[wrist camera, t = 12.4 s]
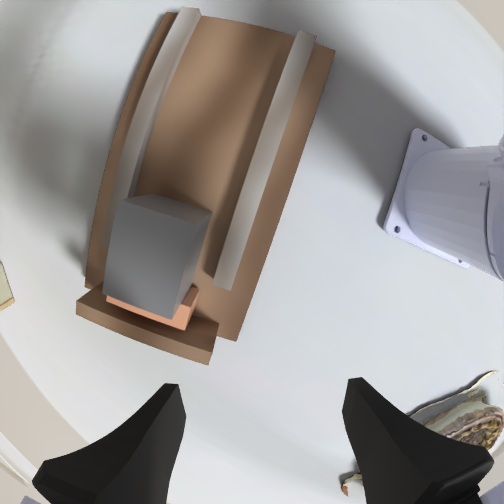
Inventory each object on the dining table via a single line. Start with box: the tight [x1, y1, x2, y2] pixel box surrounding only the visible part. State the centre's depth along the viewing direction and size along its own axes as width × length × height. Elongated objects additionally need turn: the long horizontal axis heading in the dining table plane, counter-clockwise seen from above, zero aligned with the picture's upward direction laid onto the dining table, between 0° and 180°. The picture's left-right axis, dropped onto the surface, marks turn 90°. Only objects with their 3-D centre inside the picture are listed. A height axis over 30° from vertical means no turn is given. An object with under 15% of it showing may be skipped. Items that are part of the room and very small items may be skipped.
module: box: [102, 194, 213, 320], centre depth 15 cm, size 4×5×5 cm
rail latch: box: [106, 287, 200, 331], centre depth 17 cm, size 5×2×3 cm, turn 72°
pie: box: [342, 371, 504, 496], centre depth 24 cm, size 28×27×5 cm
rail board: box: [76, 7, 335, 365], centre depth 15 cm, size 12×21×5 cm, turn 162°
